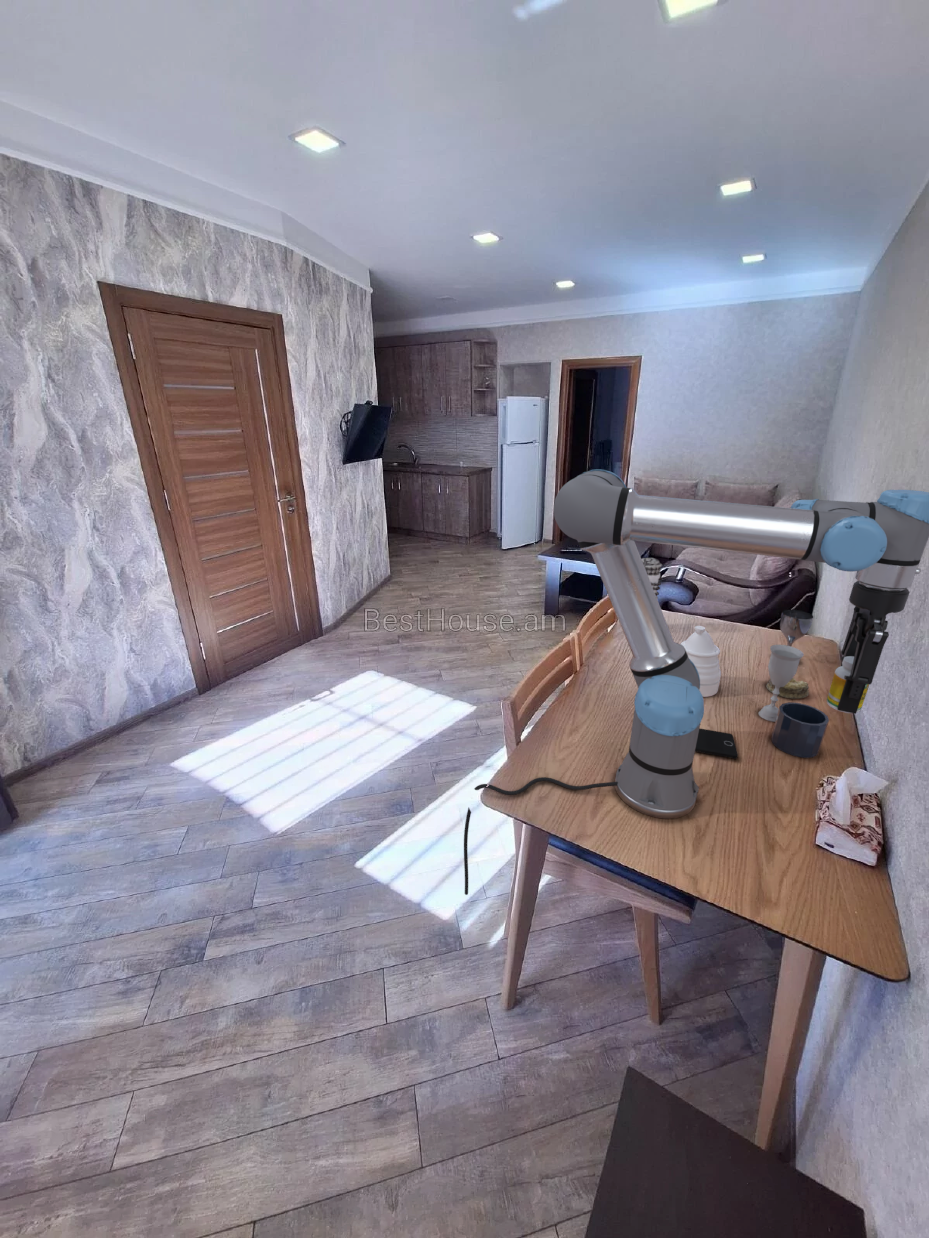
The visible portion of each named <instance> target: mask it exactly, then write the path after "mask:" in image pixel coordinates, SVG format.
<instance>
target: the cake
mask: <svg viewBox="0 0 929 1238" xmlns="http://www.w3.org/2000/svg"><path fill="white" fill-rule="evenodd" d="M765 687H766V689H767V690H768V691H769V692H770V693H772V694H773V692H772V691H774V689H775V685H773V684H772V682H771V678H770V677H769V680H768V682H767V683H766V685H765ZM809 688H810V687H809V683H808V682H807V681H804V680H796V678H794V677H793V678H792V679H791V680H790V681H789V682H788V683H787V684H786V685H785V686H784V687H780V688H779V693H780V694H778V696H779V697H782V698H784V699H785V698H787V699H791V700H793V699H795V700H796V699H797V700H799V699H804V698H806V697H808V696H809V693H810V692H809V691H810V690H809Z"/></svg>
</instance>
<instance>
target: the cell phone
mask: <svg viewBox="0 0 929 1238" xmlns="http://www.w3.org/2000/svg"><path fill="white" fill-rule="evenodd" d="M695 753H702V754H706V755H713V756H718V757H724V758H729V759H734V760H738V756H739V754H738V750H737V746H736V743H735V739H734V735H733V734H732V733H729V732H723V731H718V730H712V729H704V728H701V727H700V728H699V733H698V738H697V743H696V748H695Z"/></svg>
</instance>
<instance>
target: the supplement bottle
mask: <svg viewBox="0 0 929 1238" xmlns="http://www.w3.org/2000/svg"><path fill="white" fill-rule="evenodd" d="M853 660H854V656H847V657H844V659H843V662H841V663H842V666H841V665H840V666H838V667H836V668H835V670H834V674H833V678H832V680H831V683H830V687H829V691H828V694H827V697H826V704H827V705H828V707H830V708H831V709H833V710H835V711H838V712H840V713H845V714H851V713H850V712H845V711H840V710H838V709H837V707H838V704H839V701H840V698H841V695H842V692H843V689H844V685H845V682H846V679H844V676H850V673H851V669H852V665H853ZM870 685H871V684H866V686H865V689H864V692H863V694H862V697H861V700H860V703H859V706H858V709H857V712H856V714H858V713H860V712H861V710H862V708H863V705H864V702H865V699H866V695H867V693H868V690H869V687H870Z"/></svg>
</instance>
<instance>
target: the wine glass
mask: <svg viewBox="0 0 929 1238" xmlns="http://www.w3.org/2000/svg"><path fill="white" fill-rule="evenodd" d="M813 620H814V615H813V614H812V613H810V612H807V611H804V610H799V609H783V610H782V611H781V615H780V619H779V629H780V631H781V633H782V635H783V636H784V637H785V639H786V642H787V643H786V644H787V646H791V647H793V644H794V643H795V642H796V641H797V640H799V639H801V638H803V637H804V636H806V635H807V633H809V631H810V629H811V626H812V624H813Z"/></svg>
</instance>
